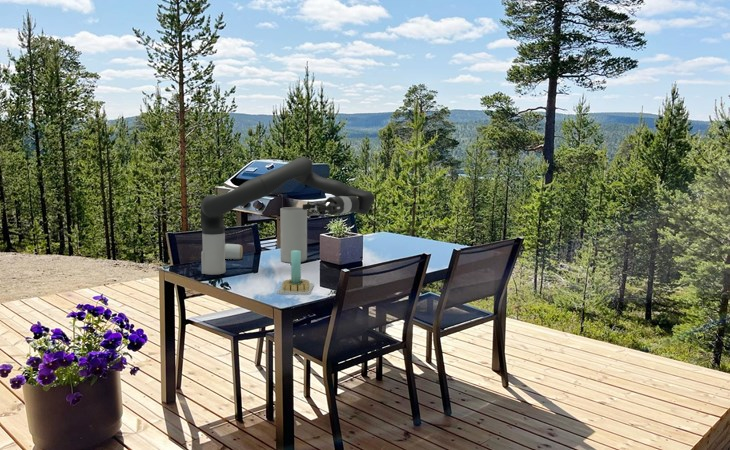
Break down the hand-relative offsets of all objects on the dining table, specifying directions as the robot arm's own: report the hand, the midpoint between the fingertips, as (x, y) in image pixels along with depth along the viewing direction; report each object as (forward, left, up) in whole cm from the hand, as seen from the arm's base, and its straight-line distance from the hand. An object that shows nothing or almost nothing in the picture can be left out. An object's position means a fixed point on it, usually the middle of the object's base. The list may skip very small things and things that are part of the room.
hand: (310, 208), depth 218 cm
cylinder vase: (-13, +39, -30) cm, 51 cm away
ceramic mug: (-42, +41, -30) cm, 66 cm away
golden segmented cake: (-4, -14, -30) cm, 33 cm away
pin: (-4, -13, -29) cm, 32 cm away
